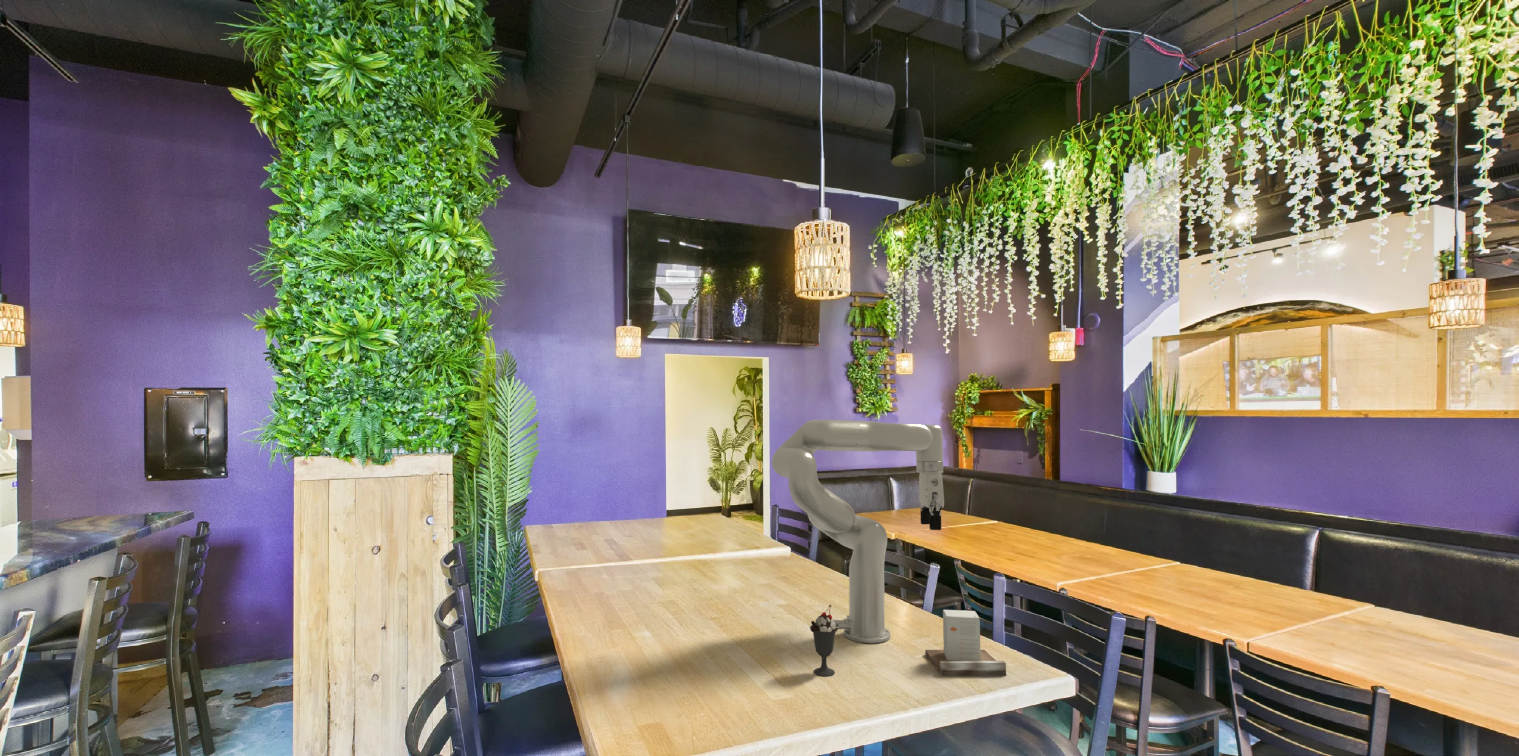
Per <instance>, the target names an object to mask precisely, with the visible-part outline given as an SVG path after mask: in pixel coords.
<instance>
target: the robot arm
mask: <svg viewBox="0 0 1519 756" xmlns="http://www.w3.org/2000/svg"><path fill="white" fill-rule="evenodd" d="M943 441H944V440H943V429H942V426H940V425H937V424H922V423H921V424H920V423H919V424H917V423H895V422H894V423H892V422H882V421H871V420H869V421H868V420H867V421H866V420H847V419H845V420H842V419H812V420H809V421H807V422H805V423H804V424H803V425H802V426H800V427H799V428H798V429H797V430H796V431H795V432H794V433H793V434H792V435H791V436H789V438H788V439H786V441H784V442H783V443H782V444H781V445H780V446H779V447H778V448H777V449H776V450H775V452H774V454H773V455H772V459H771V465H772V469H773V471H774V472H775V473H776V474H777V475H779V476H781V477H783V478H787V479H788V487H789V488H788V489H789V493H790V497H791V499H792V501H793V503H794V504H795V505H796V506H797V507H799V508H800V509H801V510H802V511H804V513H806V514H807V518H808V519H809V521H810V523H811V524H812V525H813V526H814V527H815V528H816V529H818V530H819V531H821V532H822V533H823V534H825V535H826V536H828V537H830V538H831V539H832V540H834V541H835V542H837V543H838V544H839V545H841V546H843V547H845V548H848V549H851V550H852V555H851V557H850V561H849V565H848V577H849V578H848V582H849V583H848V589H849V590H848V591H849V592H848V595H849V596H848V597H849V598H848V599H849V600H848V601H849V602H848V603H849V604H848V605H849V607H848V610H849V611H848V612H849V613H848V614H849V615H846V618H843V619H832V620H833V621H834V623H835V625H836V627H837V628H838V630H843V635H844V636H845V638H847V639H848V640H851V641H854V642H857V643H863V644H865V643H866V644H876V643H877V644H878V643H883V642H884V643H885V642H887V641H889V640H890V639H891V631H890V630H889V629H887V628H886V627H885V557H886V552H887V551H886V550H887V546H888V534H887V531H886V529H885V528H884V526H883V525H882V524H881V523H880V522H878V521H877V520H875V519H873V518H869V517H866V516H863V515H862V516H861V515H857V514H856V513H855V510H854V508H853V507H852V506H851V505H850V504H849V503H848V502H847V501H846V500H844V499H842V498H841V497H839V496H838V495H836V494H835V493H833V492H832V491H830V490H829V489H828V488H827V487H825V486H824V485H823V484H822V483H821V482H820V480H819V477H818V466H817V460H816V458H815V456H814V454H815V452H816V451H828V452H873V453H874V452H887V451H888V452H889V451H890V452H894V451H895V452H915V454H916V455H915V457H916V459H915V460H916V462H915V463H916V473H918V474H919V478H918V481H919V483H918V493H919V494H918V496H919V497H918V498H919V500H918V501H919V504H920V507H919V509H920V524H921V525H929V530H930V531H941V530H942V508H944V506H945V496H944V493H945V492H944V482H943V481H944V480H943V475H942V474H944V461H943V460H944V450H943V449H944V444H943V443H944V442H943Z"/></svg>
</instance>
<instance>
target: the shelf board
mask: <svg viewBox="0 0 1519 756" xmlns="http://www.w3.org/2000/svg"><path fill="white" fill-rule="evenodd" d="M924 652H925V653H924V654H925V656H926V657H927V658H928V660H929V661H930V662H931V664H932V665H933V666H934V668H935V669H936V670H937V671H938V673H939V674H940V675H941V676H1007V663H1006V661H1005V660H996V659H995V658H994V656H992V655H991V654H990V653H989V652H988V651H986V649H980V652H981V661H952V660H947V658H946V656H945V653H944V649H925V651H924Z"/></svg>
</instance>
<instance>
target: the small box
mask: <svg viewBox="0 0 1519 756" xmlns="http://www.w3.org/2000/svg"><path fill="white" fill-rule="evenodd" d="M980 620H981V619H980V617H979V615H978V614H977V612H976V611H975V610H958V609H957V610H956V609H943V610H942V622H943V623H942V628H943V631H942V632H943V640H942V641H943V650H944V653H945V656H946V658H947V660H952V661H981V652H980V650H981V623H980V622H981V621H980Z"/></svg>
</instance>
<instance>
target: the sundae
mask: <svg viewBox="0 0 1519 756" xmlns="http://www.w3.org/2000/svg"><path fill="white" fill-rule="evenodd" d="M831 607H832V604H829V605H828V608H827V609H826V611H823V612H822V613H821V614H820V615H818V617H816V619H815V621H814V619H813V620H811V621H810V622H811V625H809V629H810V631H811V632H812V634H813V643H814V648H815V652H816V654H817V655H818V656H820V658H821V664H820V667H816V668H815V669H814V670H813V674H814V675H816V676H820V677H831V676H833V675H835V673H836V672H835V670H834V669H833V668H830V667H828V664H827V661H828V660H827V659H828V657H830V655H832V653H833V651H834V646H835V645H834V644H835V640H836V639H835V638H836V632H838V630H839V629H838V627H836V625H835V623H834V621H833V620H834V619H833V615H832V614H831ZM827 611H829V613H828V615H827Z"/></svg>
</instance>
